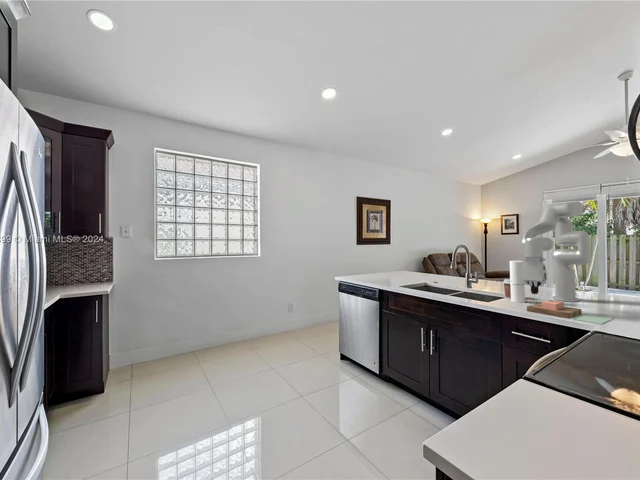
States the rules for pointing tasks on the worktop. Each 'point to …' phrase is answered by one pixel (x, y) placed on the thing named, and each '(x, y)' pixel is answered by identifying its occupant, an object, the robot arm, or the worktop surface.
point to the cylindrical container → (517, 281)
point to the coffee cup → (507, 288)
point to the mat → (592, 318)
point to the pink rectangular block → (553, 305)
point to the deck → (555, 311)
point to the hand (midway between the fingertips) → (534, 293)
